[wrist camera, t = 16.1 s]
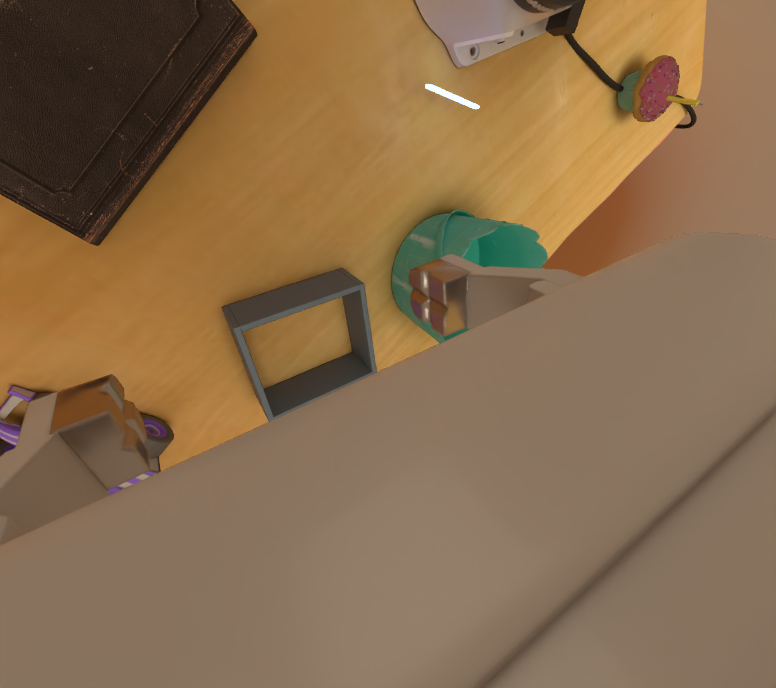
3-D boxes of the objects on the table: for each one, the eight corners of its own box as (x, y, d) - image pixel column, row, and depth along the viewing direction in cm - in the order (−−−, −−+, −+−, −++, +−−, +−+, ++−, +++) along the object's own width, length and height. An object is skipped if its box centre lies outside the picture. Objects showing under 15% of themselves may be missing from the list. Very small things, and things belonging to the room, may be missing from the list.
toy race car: (21, 372, 36) (7, 411, 31) (172, 421, 47) (179, 456, 42) (-41, 449, 36) (-64, 499, 32) (123, 481, 47) (124, 523, 42)
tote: (342, 267, 49) (364, 283, 45) (357, 353, 57) (377, 374, 53) (221, 306, 43) (233, 329, 39) (256, 396, 51) (269, 423, 47)
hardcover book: (-183, 83, 24) (-205, 82, 22) (34, -223, 23) (28, -249, 21) (99, 241, 35) (98, 248, 33) (253, 38, 34) (260, 34, 32)
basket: (360, 274, 51) (415, 311, 42) (450, 174, 52) (525, 188, 42) (426, 344, 64) (480, 384, 55) (498, 264, 65) (563, 290, 55)
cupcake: (633, 119, 66) (712, 121, 58) (603, 123, 63) (682, 125, 54) (649, 57, 62) (738, 49, 53) (617, 58, 58) (707, 49, 49)
